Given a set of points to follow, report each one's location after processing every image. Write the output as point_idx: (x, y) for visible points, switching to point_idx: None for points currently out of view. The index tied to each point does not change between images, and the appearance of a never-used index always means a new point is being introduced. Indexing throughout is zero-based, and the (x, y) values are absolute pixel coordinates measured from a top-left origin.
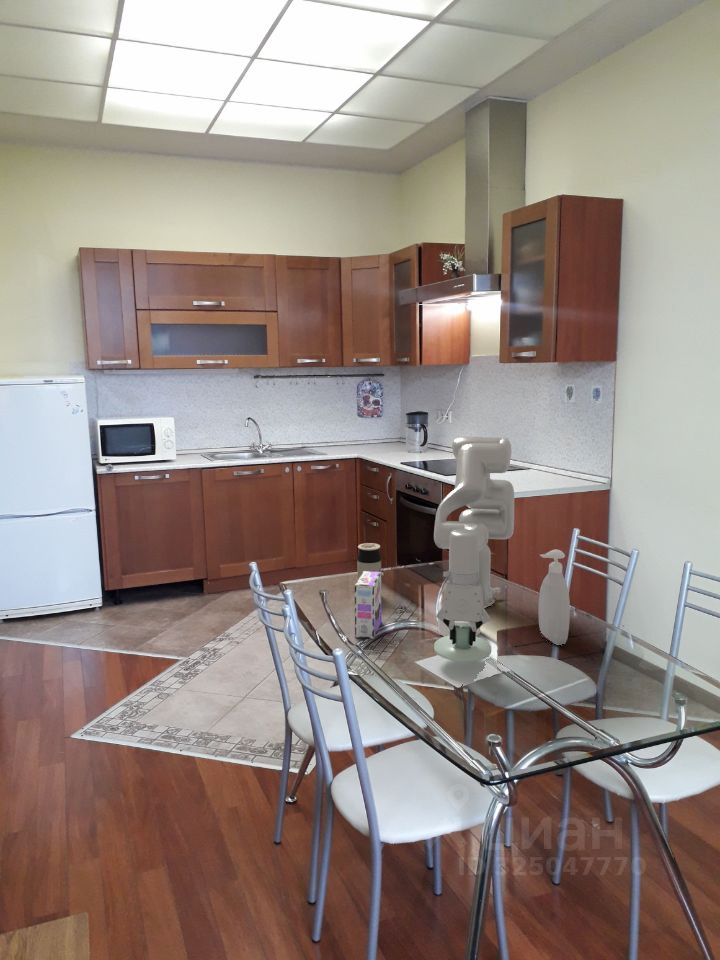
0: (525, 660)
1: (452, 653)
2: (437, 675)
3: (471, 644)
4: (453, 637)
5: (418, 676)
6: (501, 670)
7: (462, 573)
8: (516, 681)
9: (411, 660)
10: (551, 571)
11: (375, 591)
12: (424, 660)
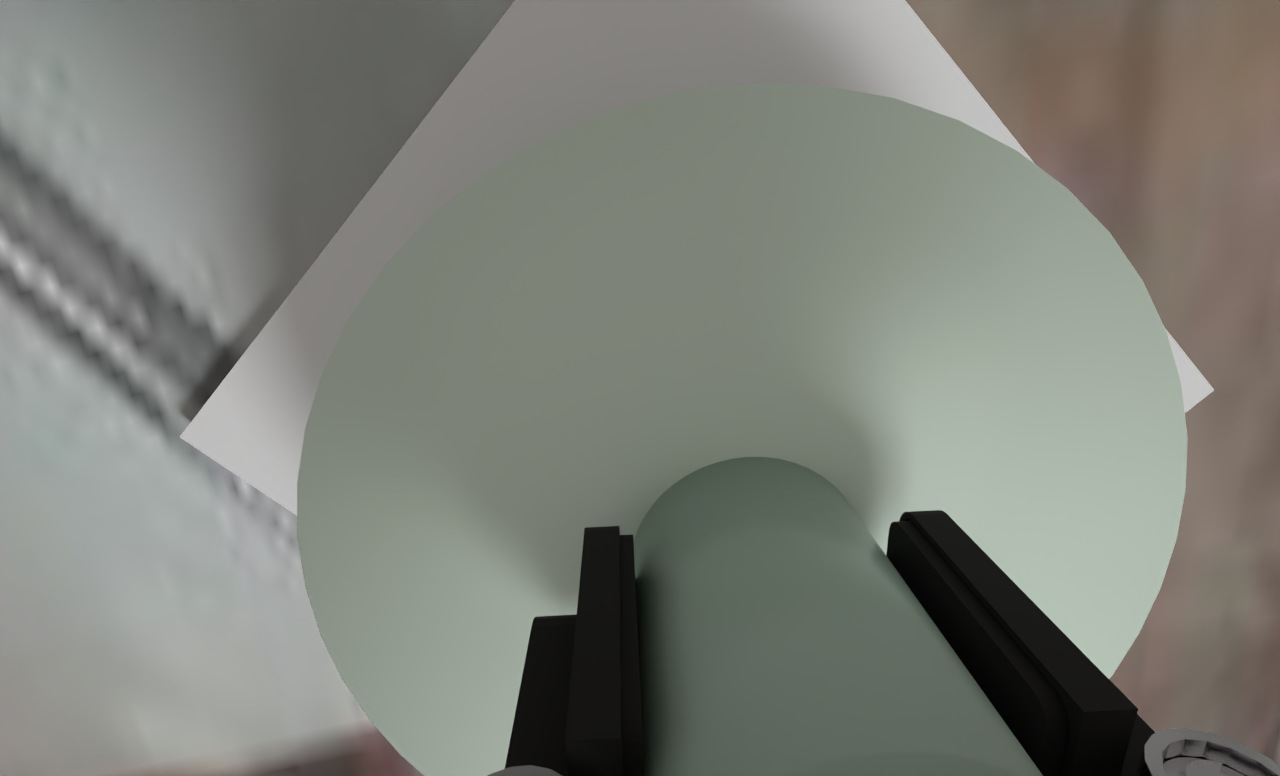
0: (145, 689)
1: (900, 274)
2: (977, 97)
3: (599, 532)
4: (987, 583)
5: (1181, 84)
6: (277, 404)
7: None
8: (70, 219)
9: (1211, 457)
10: None
11: None
12: None
